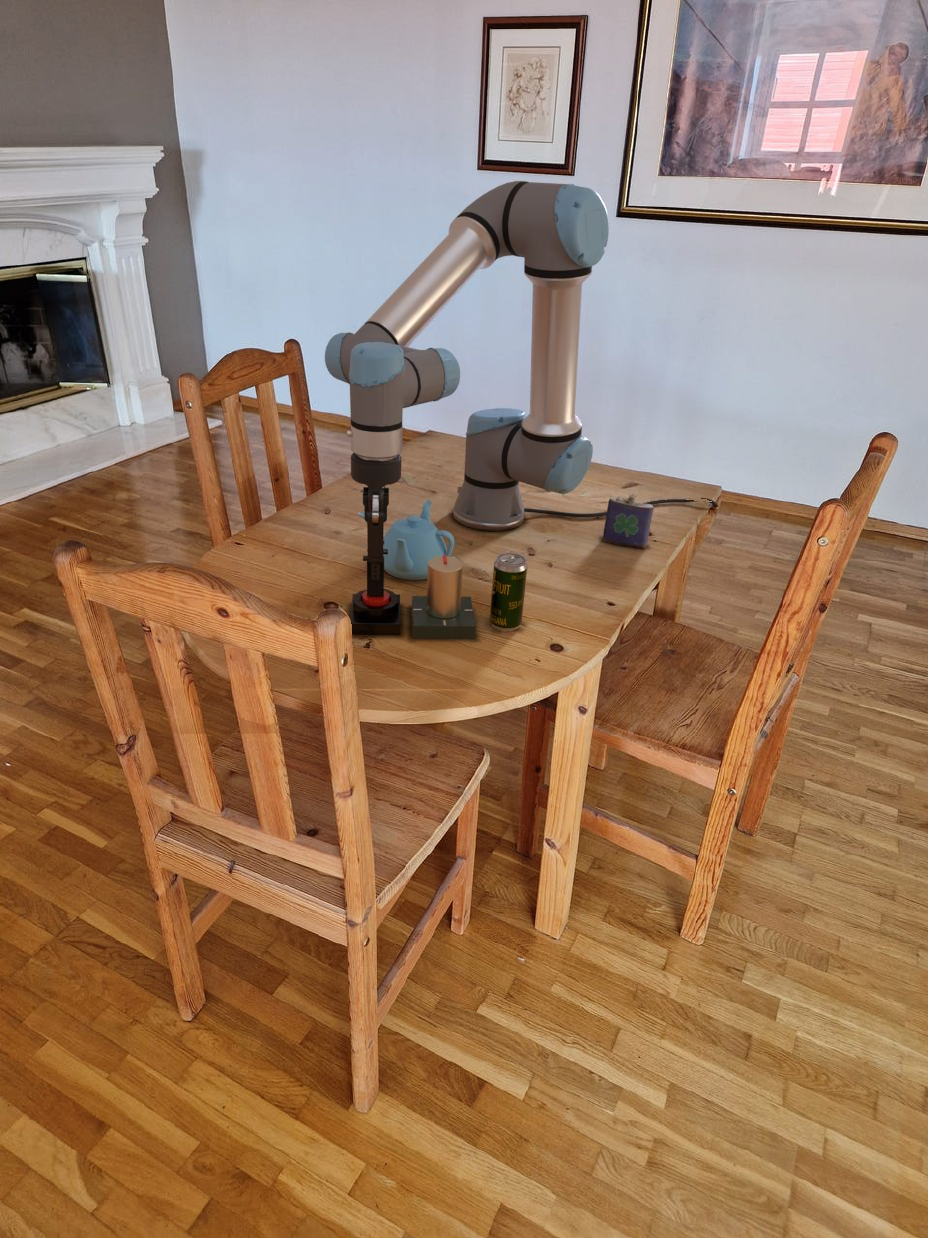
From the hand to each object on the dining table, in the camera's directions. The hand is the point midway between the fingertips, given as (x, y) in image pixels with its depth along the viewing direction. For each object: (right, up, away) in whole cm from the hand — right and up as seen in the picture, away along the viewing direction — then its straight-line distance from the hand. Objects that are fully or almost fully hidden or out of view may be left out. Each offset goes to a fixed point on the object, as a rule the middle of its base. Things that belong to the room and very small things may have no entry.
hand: (375, 593), depth 132 cm
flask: (+48, +11, +36) cm, 61 cm away
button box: (0, -4, +2) cm, 5 cm away
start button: (0, -2, +1) cm, 2 cm away
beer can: (+21, -5, +4) cm, 22 cm away
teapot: (+4, +5, +20) cm, 21 cm away
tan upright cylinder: (+11, -3, +1) cm, 11 cm away
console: (+11, -5, +3) cm, 12 cm away
